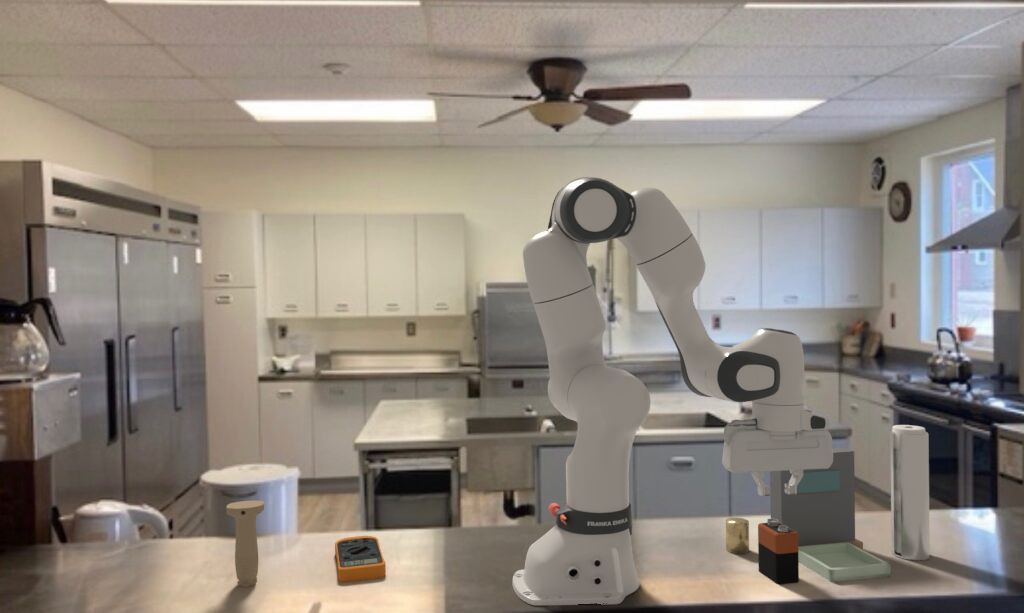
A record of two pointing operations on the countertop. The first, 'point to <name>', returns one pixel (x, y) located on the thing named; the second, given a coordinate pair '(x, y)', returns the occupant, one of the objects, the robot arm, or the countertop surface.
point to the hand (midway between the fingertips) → (777, 494)
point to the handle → (246, 540)
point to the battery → (778, 552)
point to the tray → (842, 562)
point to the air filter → (910, 492)
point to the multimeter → (359, 559)
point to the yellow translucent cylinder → (737, 535)
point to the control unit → (819, 502)
